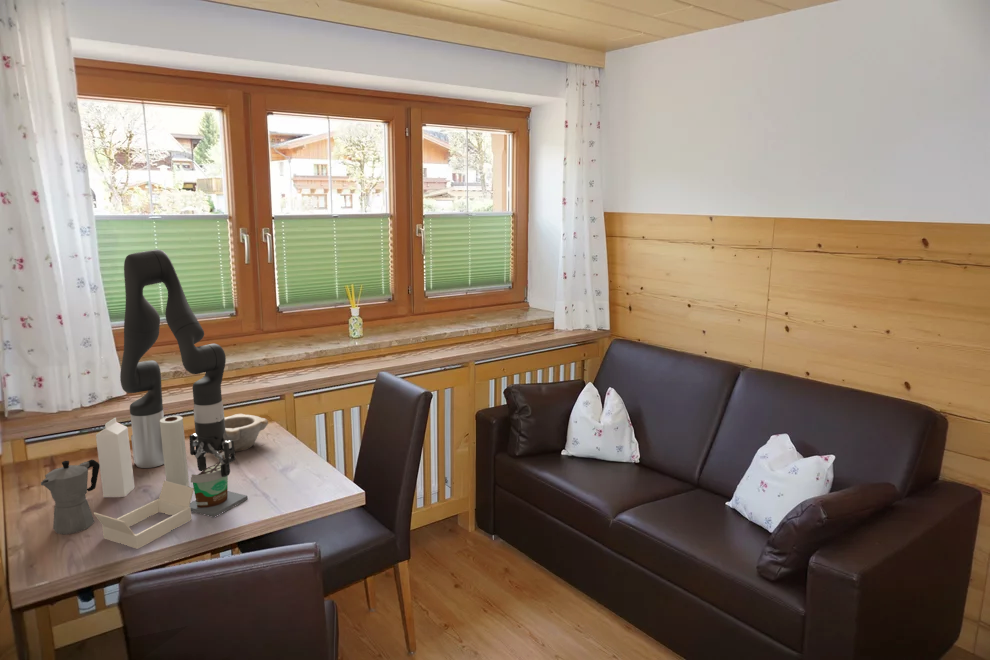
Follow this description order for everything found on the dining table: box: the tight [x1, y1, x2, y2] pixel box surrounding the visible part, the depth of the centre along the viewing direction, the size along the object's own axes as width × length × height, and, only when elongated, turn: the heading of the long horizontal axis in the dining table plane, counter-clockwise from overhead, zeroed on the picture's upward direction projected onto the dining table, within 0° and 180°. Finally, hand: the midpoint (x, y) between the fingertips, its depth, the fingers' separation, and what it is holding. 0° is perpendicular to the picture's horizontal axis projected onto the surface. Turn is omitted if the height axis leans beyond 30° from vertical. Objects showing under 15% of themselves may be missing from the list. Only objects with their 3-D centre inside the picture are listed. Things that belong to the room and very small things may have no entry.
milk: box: [95, 417, 135, 498], centre depth 190 cm, size 6×6×22 cm
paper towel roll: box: [160, 415, 190, 487], centre depth 193 cm, size 7×6×21 cm
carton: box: [93, 480, 194, 550], centre depth 171 cm, size 12×20×8 cm, turn 156°
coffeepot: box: [40, 459, 100, 535], centre depth 173 cm, size 15×9×18 cm, turn 159°
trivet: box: [189, 490, 249, 518], centre depth 186 cm, size 11×12×1 cm
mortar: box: [223, 413, 269, 452], centre depth 226 cm, size 17×17×9 cm
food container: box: [190, 460, 229, 508], centre depth 184 cm, size 12×6×10 cm, turn 165°
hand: (214, 472), depth 184 cm, fingers open, 8 cm apart
